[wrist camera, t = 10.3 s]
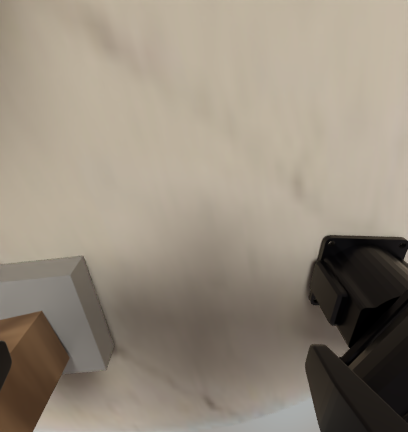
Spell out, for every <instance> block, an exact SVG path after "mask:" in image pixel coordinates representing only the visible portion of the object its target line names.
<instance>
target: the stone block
mask: <svg viewBox="0 0 408 432" xmlns="http://www.w3.org/2000/svg"><path fill="white" fill-rule="evenodd" d="M39 311H42V312H43V313H44V315H45V317H46V319H47V320H48V322H49V324H50V325H51V327H52V329H53V330H54V332H55V334H56V336H57V337H58V339H59V341H60V342H61V344H62V346H63V347H64V349H65V351H66V352H67V354H68V356H69V358H70V359H69V361H68V363H67V365H66V367H65V369H64V371H63V373H62V374H73V373H83V372H94V371H105V370H107V367H108V364H109V361H110V358H111V355H112V351H113V348H114V344H113V341H112V338H111V335H110V332H109V329H108V326H107V323H106V320H105V318H104V315H103V312H102V309H101V306H100V303H99V300H98V297H97V294H96V292H95V289H94V286H93V283H92V280H91V277H90V274H89V271H88V268H87V265H86V263H85V260H84V257H83V256H76V257H66V258H57V259H47V260H38V261H28V262H19V263H9V264H0V320H2V319H7V318H11V317H16V316H21V315H25V314H30V313H34V312H39Z"/></svg>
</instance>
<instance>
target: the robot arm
mask: <svg viewBox="0 0 408 432" xmlns="http://www.w3.org/2000/svg"><path fill="white" fill-rule="evenodd" d="M330 241H333V242H332V243H331V244H328V243H329V242H330ZM401 243H402V245H400V244H401ZM399 245H400V246H399ZM407 250H408V241H407V240H406V239H405V238H402V237H372V236H336V235H330V236H327V237H325V238H324V240H323V243H322V247H321V251H320V255H319V259H318V261H317V262H316V263H315V267H314V271H313V275H312V279H311V283H310V289H311V291H310V295H309V300H310V302H311V304H313V305H320V307H321V309H322V311H323V313H324V314H325V316H326V318H327V320H328V322H329V323H330V324H331V325H332V326H337V328H338V329H339V331H340V333H341V335H342V336H343V338H344V340H345V342H346V343H347V345H348V347H349V348H350V349H349V350H348V351H347V352H346V353H345V354H344V355H343V356H342V357H338V356H336V355H335V354H334V353H333V352H332V351H331V350H330V349H329V348H328V347H327V346H325V345H323V344H312V345H311V346H310V348H309V351H308V355H307V359H306V362H305V369H306V374H307V379H308V383H309V387H310V391H311V395H312V399H313V404H314V408H315V412H316V416H317V420H318V424H319V428H320V431H321V432H408V264H407V263H406V262H405V261H404V257H405V255H406V252H407ZM315 298H316V299H315ZM314 299H315V300H314ZM11 365H12V358H11V355H10V353H9V350H8V347H7V344H6V342H5V341H3V340H0V391H1V389H2V387H3V384H4V382H5V380H6V378H7V375H8V373H9V371H10V368H11Z"/></svg>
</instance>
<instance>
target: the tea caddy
mask: <svg viewBox="0 0 408 432" xmlns="http://www.w3.org/2000/svg"><path fill="white" fill-rule="evenodd" d="M0 340H3V341H5V342H6V344H7V347H8V350H9V353H10V355H11V358H12V365H11V368H10V371H9V373H8V375H7V378H6V380H5V382H4V384H3V387H2V389H1V391H0V432H33V430H34V428H35V426H36V424H37V422H38V420H39V418H40V416H41V414H42V412H43V410H44V408H45V406H46V404H47V402H48V400H49V398H50V396H51V394H52V392H53V390H54V388H55V386H56V384H57V382H58V380H59V378H60V377H61V375H62V373H63V371H64V369H65V367H66V365H67V363H68V361H69V359H70V358H69V356H68V354H67V352H66V351H65V349H64V347H63V346H62V344H61V342H60V341H59V339H58V337H57V336H56V334H55V332H54V330H53V329H52V327H51V325H50V324H49V322H48V320H47V319H46V317H45V315H44V313H43V312H42V311H39V312H34V313H30V314H25V315H21V316H16V317H11V318H7V319H2V320H0Z"/></svg>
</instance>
